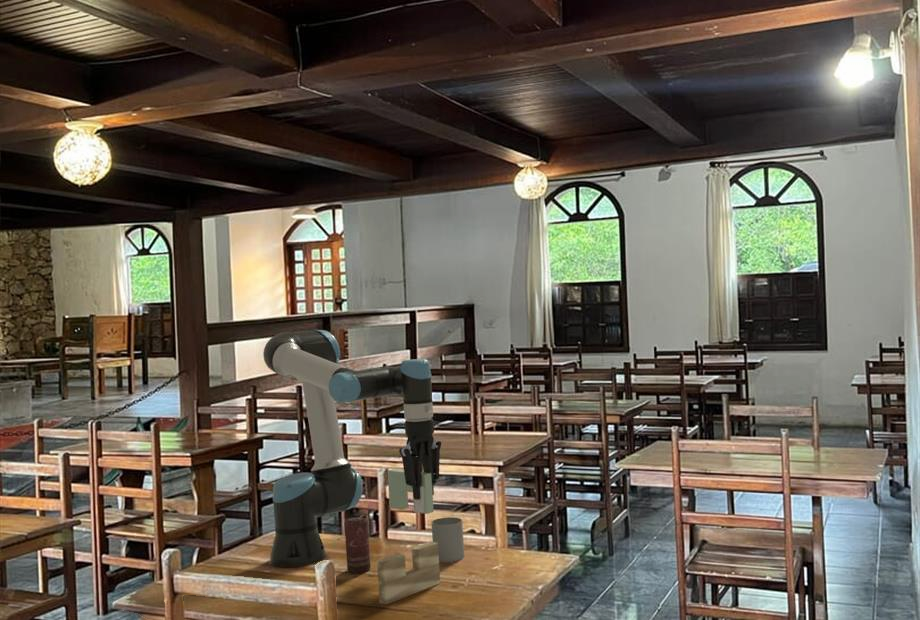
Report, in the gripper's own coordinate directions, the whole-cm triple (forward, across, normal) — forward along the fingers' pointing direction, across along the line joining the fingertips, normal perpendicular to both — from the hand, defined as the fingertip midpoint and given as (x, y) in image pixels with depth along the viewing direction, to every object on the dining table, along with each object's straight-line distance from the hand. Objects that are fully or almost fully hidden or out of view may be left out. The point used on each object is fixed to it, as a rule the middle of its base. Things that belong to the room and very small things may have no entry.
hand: (424, 510), depth 218 cm
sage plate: (+1, 0, +5) cm, 5 cm away
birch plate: (+17, -13, -7) cm, 22 cm away
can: (+17, -8, +18) cm, 26 cm away
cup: (+17, +13, +5) cm, 22 cm away
